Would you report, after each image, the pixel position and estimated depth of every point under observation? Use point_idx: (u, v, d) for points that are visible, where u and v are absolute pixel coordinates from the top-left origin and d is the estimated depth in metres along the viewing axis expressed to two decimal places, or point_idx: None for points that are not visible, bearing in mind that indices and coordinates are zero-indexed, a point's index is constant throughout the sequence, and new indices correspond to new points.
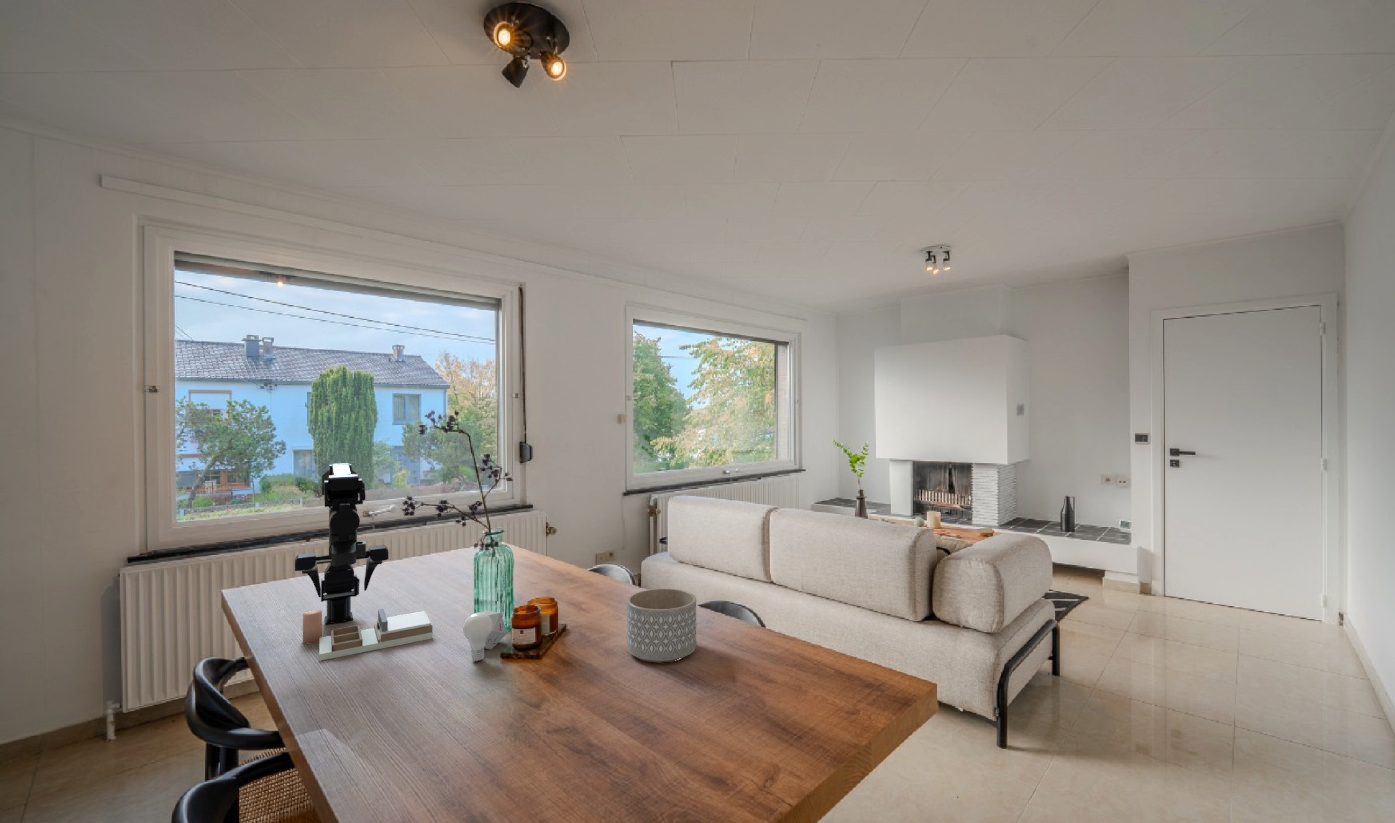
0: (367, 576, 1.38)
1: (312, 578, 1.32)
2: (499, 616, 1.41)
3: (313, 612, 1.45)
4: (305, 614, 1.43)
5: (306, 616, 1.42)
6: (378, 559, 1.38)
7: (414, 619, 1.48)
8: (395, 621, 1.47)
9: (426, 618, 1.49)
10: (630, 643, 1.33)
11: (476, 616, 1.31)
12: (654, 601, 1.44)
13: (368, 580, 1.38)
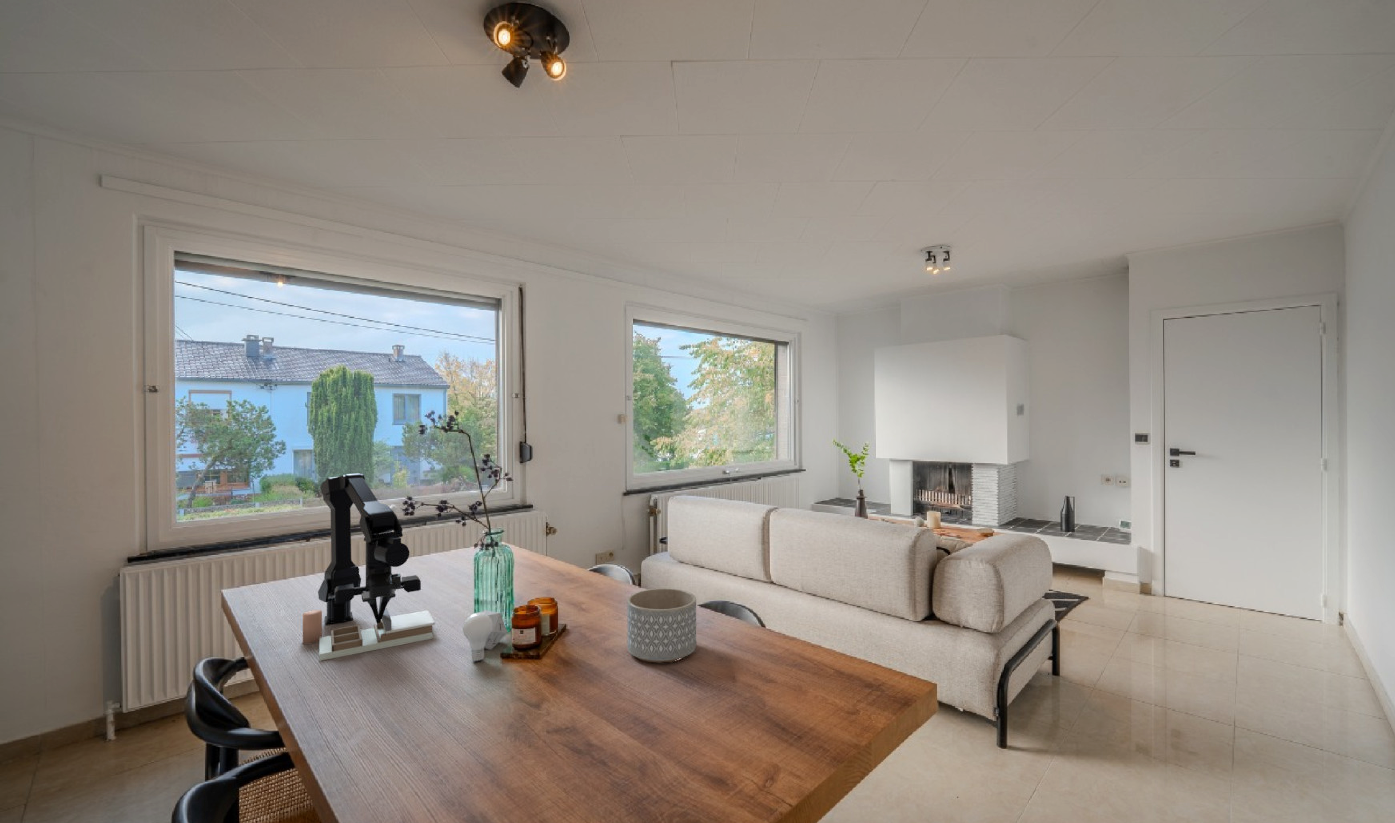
0: (381, 609, 1.44)
1: (371, 605, 1.42)
2: (499, 616, 1.41)
3: (313, 612, 1.45)
4: (305, 614, 1.43)
5: (305, 616, 1.42)
6: (411, 590, 1.46)
7: (417, 618, 1.49)
8: (398, 620, 1.48)
9: (429, 617, 1.50)
10: (630, 643, 1.33)
11: (476, 616, 1.31)
12: (654, 601, 1.44)
13: (382, 613, 1.44)
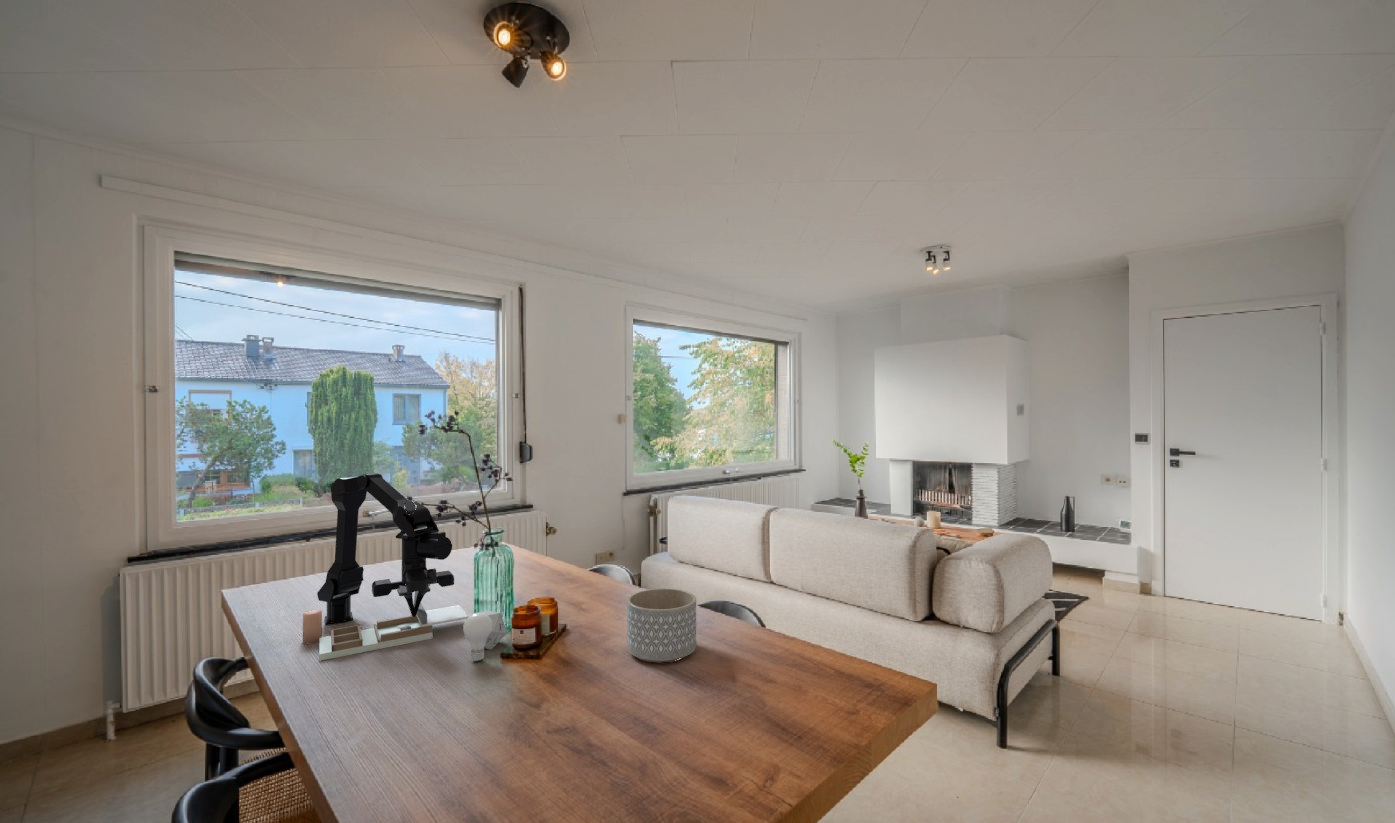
0: (417, 603, 1.48)
1: (407, 600, 1.47)
2: (499, 616, 1.41)
3: (313, 612, 1.45)
4: (305, 614, 1.43)
5: (306, 616, 1.42)
6: (445, 584, 1.50)
7: (451, 612, 1.53)
8: (432, 614, 1.52)
9: (462, 612, 1.54)
10: (630, 643, 1.33)
11: (476, 616, 1.31)
12: (654, 601, 1.44)
13: (417, 607, 1.48)
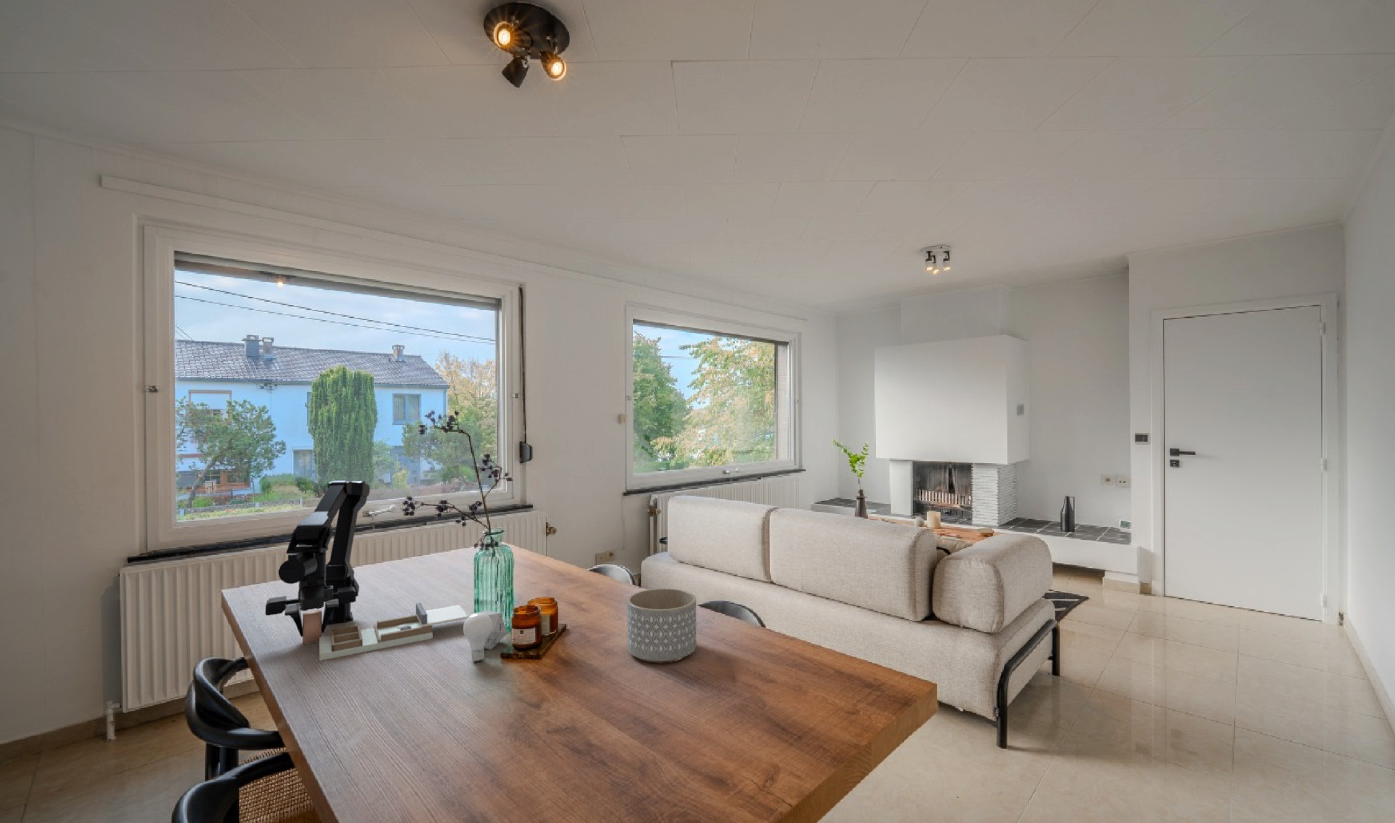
0: (324, 619, 1.45)
1: (294, 619, 1.41)
2: (499, 616, 1.41)
3: (313, 612, 1.45)
4: (305, 614, 1.43)
5: (305, 616, 1.42)
6: (346, 601, 1.46)
7: (451, 612, 1.53)
8: (432, 614, 1.52)
9: (462, 612, 1.54)
10: (630, 643, 1.33)
11: (476, 616, 1.31)
12: (654, 601, 1.44)
13: (325, 623, 1.45)
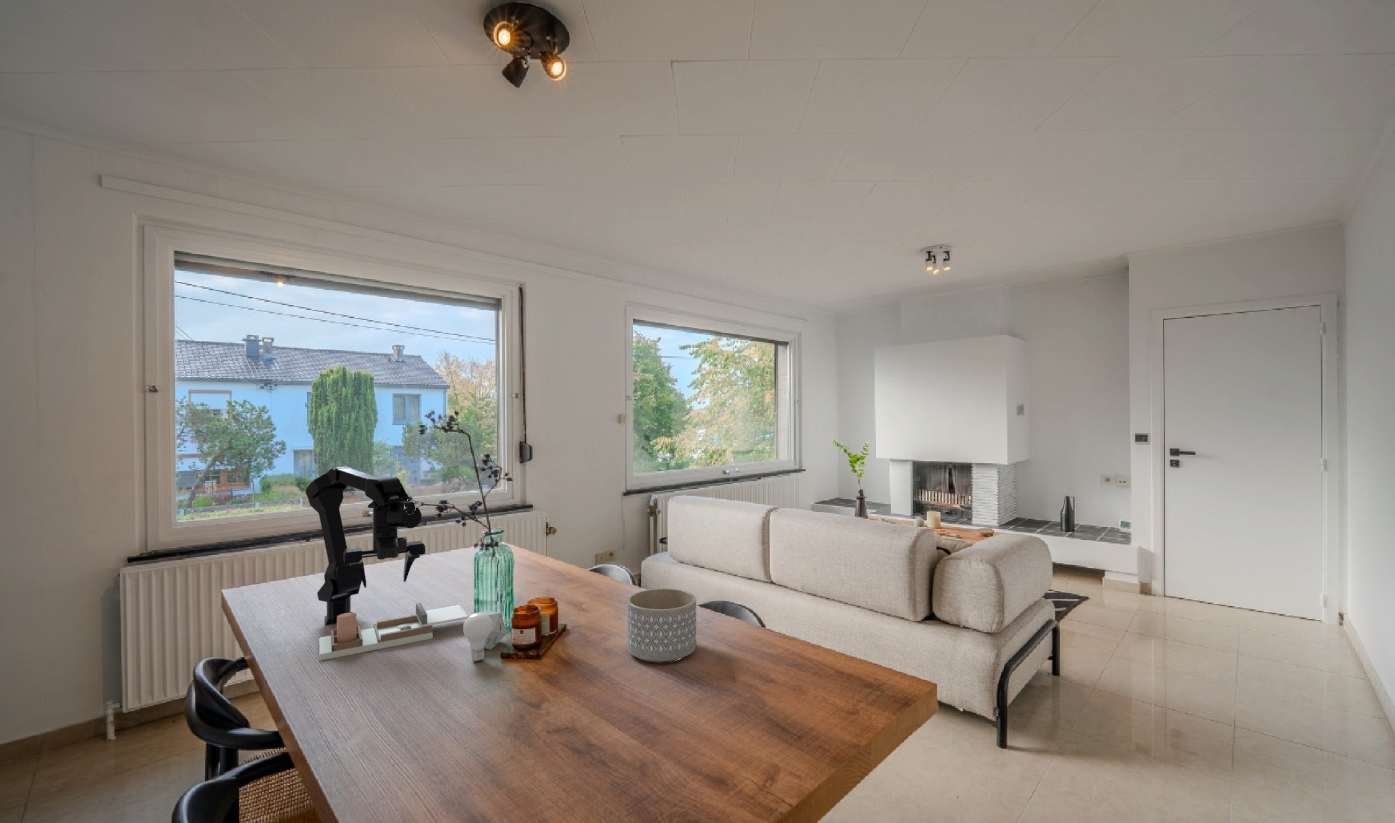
0: (406, 569, 1.54)
1: (359, 570, 1.47)
2: (499, 616, 1.41)
3: (347, 615, 1.38)
4: (339, 617, 1.37)
5: (340, 619, 1.36)
6: (416, 553, 1.53)
7: (451, 612, 1.53)
8: (432, 614, 1.52)
9: (462, 612, 1.54)
10: (630, 643, 1.33)
11: (476, 616, 1.31)
12: (654, 601, 1.44)
13: (407, 572, 1.54)
